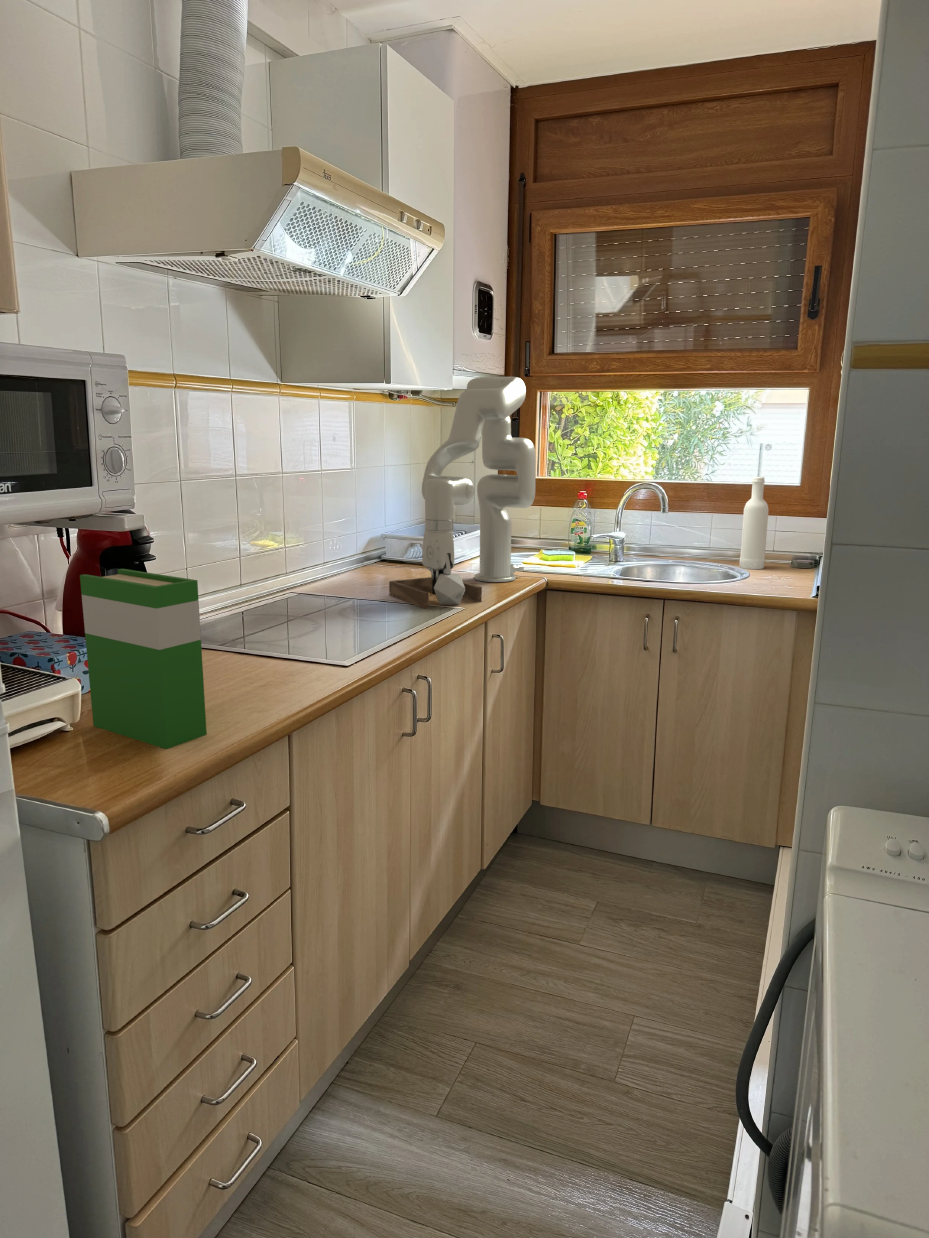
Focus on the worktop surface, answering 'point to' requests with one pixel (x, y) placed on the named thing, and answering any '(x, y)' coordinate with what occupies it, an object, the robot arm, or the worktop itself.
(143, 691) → the hardback book
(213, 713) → the worktop surface
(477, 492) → the robot arm
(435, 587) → the die
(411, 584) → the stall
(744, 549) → the bottle
